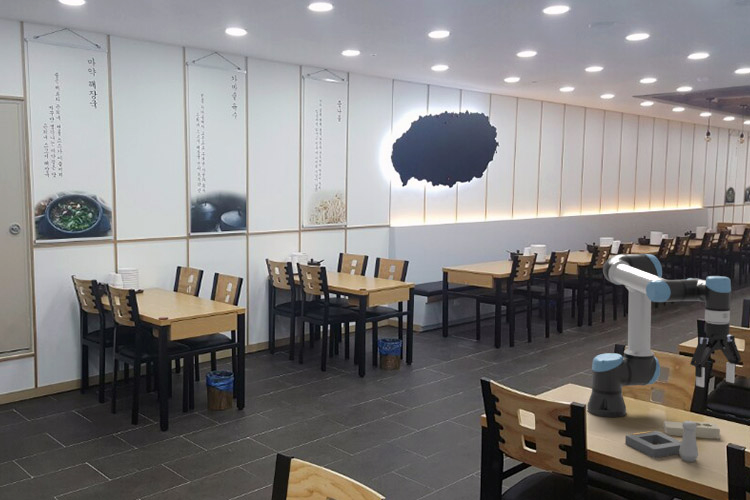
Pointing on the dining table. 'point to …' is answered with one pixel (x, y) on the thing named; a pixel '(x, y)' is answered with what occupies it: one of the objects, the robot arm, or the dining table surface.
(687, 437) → the salt shaker
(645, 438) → the caddy block
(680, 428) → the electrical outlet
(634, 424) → the dining table surface
